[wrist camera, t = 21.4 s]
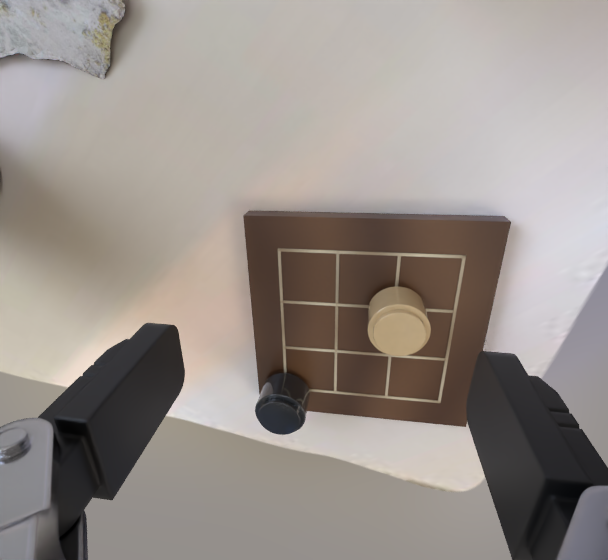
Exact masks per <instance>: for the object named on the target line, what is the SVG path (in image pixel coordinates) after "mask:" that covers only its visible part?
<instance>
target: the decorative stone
mask: <svg viewBox="0 0 608 560" xmlns="http://www.w3.org/2000/svg"><path fill="white" fill-rule="evenodd" d="M121 1H123V0H0V57H4V56H7V55H13V54H14V53H15V54H16V53H17V52H19V53H20V52H21V54H25V55H27V57H31V58H33V59H35V58H37V59H41V58H43V59H48V58H49V59H53V60H58V59H59V60H60V61H65V62H66V63H69V64H70V65H72V66H73V67H74V66H75V68H76V67H77V68H78V69H81V70H83V71H87V72H88V73H90V74H91V75H94V76H96V77H100V78H102V79H105V74H106V72H107V70H108V67H110V60H111V58H110V54H111V53H110V52H111V51H110V41H111V37H112V34H113V33H112V30H113V28H114V26H115V24H116V23H118V22H120V21H121V19H122V17H123V16H124V12H125V8H124V7H125V5H124V3H123V2H121ZM2 59H3V58H2Z"/></svg>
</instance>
